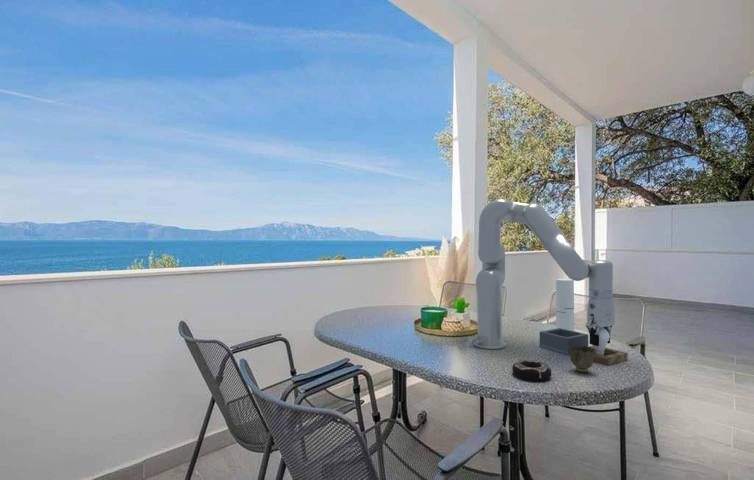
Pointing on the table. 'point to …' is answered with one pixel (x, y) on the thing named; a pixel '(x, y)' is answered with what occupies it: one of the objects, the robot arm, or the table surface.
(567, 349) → the grey open box
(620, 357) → the socket block
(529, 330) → the table surface
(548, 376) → the donut
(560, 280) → the cylindrical container
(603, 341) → the lightbulb
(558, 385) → the table surface
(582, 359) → the cup
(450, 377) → the table surface
